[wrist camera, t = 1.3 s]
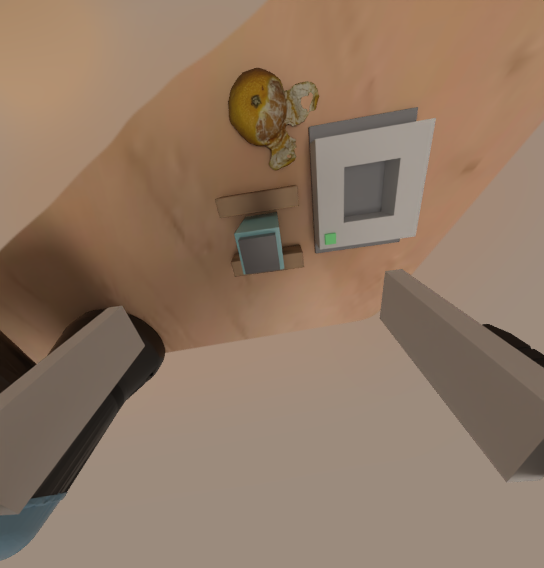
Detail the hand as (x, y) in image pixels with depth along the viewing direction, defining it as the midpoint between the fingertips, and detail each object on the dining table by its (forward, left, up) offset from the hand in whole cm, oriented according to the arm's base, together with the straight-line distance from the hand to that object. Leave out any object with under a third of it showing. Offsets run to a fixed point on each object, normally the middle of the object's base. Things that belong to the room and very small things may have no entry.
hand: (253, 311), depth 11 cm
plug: (0, 0, -18) cm, 19 cm away
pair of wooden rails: (0, 0, -18) cm, 19 cm away
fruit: (+3, +11, -19) cm, 22 cm away
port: (+12, +3, -18) cm, 22 cm away
